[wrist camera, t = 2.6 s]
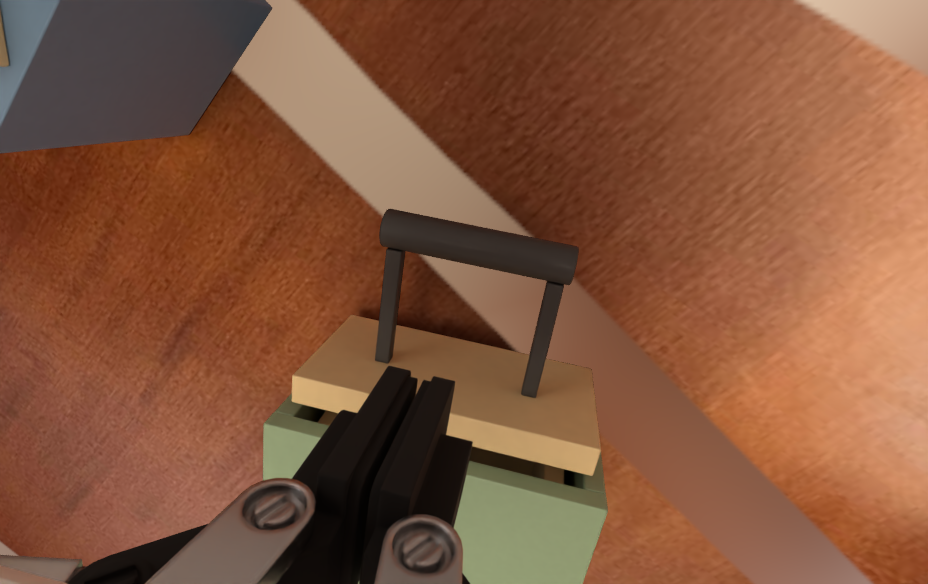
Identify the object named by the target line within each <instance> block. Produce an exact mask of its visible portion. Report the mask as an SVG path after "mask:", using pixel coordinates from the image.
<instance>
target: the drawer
mask: <svg viewBox="0 0 928 584" xmlns="http://www.w3.org/2000/svg"><path fill="white" fill-rule="evenodd" d="M379 236H380V244H381V245H382V246H384V247H389V248H387V250H386V259H385V268H384V278H383V287H382V297H381V306H380V316H379V321H377V320H373V319H368V318H364V317H360V316H355V315H351V316H350V317H349V318H348V319H347V320H346V321H345V322H344V323H343V324H342V325H341V326H340V327H339V328H338V329H337V330H336V331H335V332H334V333H333V334H332V335H331V336H330V337H329V338H328V339H327V340H326V341H325V342H324V343H323V345H322V346H321V347H320V348H319V349H318V350H317V351H316V352H315V353H314V354H313V355H312V356H311V357H310V358H309V359H308V360H307V361H306V362H305V363H304V364H303V365H302V366H301V367H300V368H299V369H298V370H297V371H296V372H295V373H294V375H293V376H292V402H294V403H298V404H302V405H307V406H311V407H315V408H319V409H323V410H326V411H325V413H324V414H323V415H322V417H321V418H320V419H319V421H318V422H317V423H321V424H325V425H329V426H330V424H331V423H332V422H333V420H334V419H335V417H336V416H337V415H338V413H339V412H340V411H341V410H347V411H351V412H355V413H358V411H359V409H360V408H361V406H362V405H363V403H364V402H365V400H366V399H367V397H368V396H369V394H370V393H371V391H372V390H373V388H374V387H375V385H376V383H377V382H378V380H379V379H380V377H381V376H382V374H383V373H384V371H385V370H386V368H387V367H388V366H393V367H397V368H402V369H406V370H410V371H411V377H414V378H417V379H418V382H417V390H416V394H417V392H418V390H419V388H420V386H421V384H422V382H423V380H427V381H431V379H432V378H433V376H436V377H440V378H444V379H449V380H453V381H455V388H454V394H453V399H452V405H451V410H450V416H449V422H448V427H447V433H446V435H449V436H453V437H457V438H461V439H465V440H469V441H473V444H472V449H471V454H470V459H469V461H473V462H477V463H481V464H485V465H489V466H493V467H497V468H501V469H505V470H509V471H513V472H517V473H521V474H525V475H529V476H532V477H536V478H540V479H544V480H548V481H552V482H556V483H560V484H564V469H565V470H569V471H573V472H577V473H581V474H585V475H590V476H593V474H594V471H595V468H596V465H597V462H598V458H599V455H600V452H601V445H600V437H599V428H598V419H597V411H596V402H595V394H594V386H593V377H592V369H590V368H585V367H581V366H577V365H572V364H568V363H564V362H559V361H555V360H550V359H546V356H547V352H548V348H549V344H550V340H551V336H552V332H553V328H554V324H555V320H556V316H557V312H558V308H559V304H560V300H561V296H562V292H563V288H564V284H566V285H570V284H571V282H572V280H573V277H574V273H575V269H576V265H577V260H578V253H579V248H578V247H577V246H573V245H568V244H563V243H558V242H553V241H548V240H543V239H538V238H533V237H528V236H523V235H517V234H513V233H508V232H503V231H498V230H493V229H488V228H483V227H478V226H473V225H468V224H463V223H458V222H453V221H448V220H443V219H438V218H433V217H428V216H423V215H419V214H413V213H408V212H404V211H399V210H394V209H388V210H387V211H386V212H385V214H384V216H383V219H382V222H381V226H380V235H379ZM405 251H408V252H413V253H417V254H422V255H427V256H432V257H436V258H441V259H446V260H451V261H456V262H460V263H465V264H470V265H475V266H479V267H484V268H489V269H494V270H499V271H504V272H508V273H513V274H518V275H522V276H527V277H532V278H537V279H542V280H546V281H547V283H546V288H545V292H544V296H543V300H542V305H541V309H540V313H539V317H538V321H537V326H536V331H535V335H534V338H533V343H532V347H531V351H530V355H528V354H524V353H519V352H515V351H510V350H506V349H501V348H497V347H493V346H488V345H484V344H479V343H475V342H470V341H466V340H462V339H457V338H453V337H448V336H444V335H439V334H435V333H430V332H426V331H422V330H417V329H413V328H408V327H404V326H399V325H397V317H398V308H399V300H400V292H401V283H402V275H403V267H404V259H405Z"/></svg>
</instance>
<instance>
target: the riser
mask: <svg viewBox="0 0 928 584" xmlns="http://www.w3.org/2000/svg"><path fill="white" fill-rule="evenodd" d="M271 10H272V7H271V6H270V5H269V4H268V3H267V2H266V1H265V0H0V11H1V17H2V23H3V29H4V35H5V41H6V47H7V53H8V59H9V66H7V67H0V153H8V152H18V151H29V150H39V149H49V148H59V147H70V146H80V145H90V144H100V143H111V142H121V141H131V140H141V139H151V138H162V137H172V136H182V135H189V134H190V133H191V131H192V129H193V128H194V126H195V125H196V123H197V122H198V120H199V119H200V117H201V116H202V114H203V113H204V111H205V110H206V108H207V107H208V105H209V104H210V102H211V101H212V99H213V98H214V96H215V95H216V93H217V92H218V90H219V89H220V87H221V85H222V84H223V82H224V81H225V79H226V78H227V76H228V75H229V73H230V72H231V70H232V69H233V67H234V66H235V64H236V63H237V61H238V60H239V58H240V57H241V55H242V54H243V52H244V51H245V49H246V47H247V46H248V45H249V43H250V41H251V40H252V38H253V37H254V35H255V34H256V32H257V31H258V29H259V28H260V26H261V25H262V23H263V22H264V20H265V19H266V17H267V16H268V14H269V13H270V11H271Z"/></svg>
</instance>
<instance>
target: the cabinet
mask: <svg viewBox="0 0 928 584" xmlns="http://www.w3.org/2000/svg"><path fill="white" fill-rule="evenodd" d="M325 411H326V410H323V409H319V408H315V407H311V406H307V405H302V404H298V403H294V402H292V393H291V395H290V396H289V397H288V398H287V399H286V400H285V401H284V402H283V403H282V404H281V405H280V407H279V408H278V409H277V410H276V411H275V412H274V413H273V414H272V415H271V416H270V417H269V418H268V419H267V421H266V422H265V423H264V437H263V480H267V479H272V478H290V479H292V477H293V476H294V475H295V473H296V472H297V471H298V469H299V468H300V466H301V465H302V464H303V462H304V461H305V459H306V458H307V457H308V455H309V454H310V452H311V451H312V450H313V448H314V447H315V445H316V444H317V443H318V441H319V440H320V438H321V437H322V436H323V434H324V433H325V431H326V430H327V429H328V427H329V425H325V424H321V423H317V422H318V421H319V419H320V418H321V417H322V415H323V414H324V413H325ZM607 512H608V508H607V499H606V493H605V484H604V475H603V467H602V458H601V452H600V455H599V458H598V462H597V465H596V468H595V471H594V474H593V476H590V475H585V474H581V473H577V472H573V471H569V470H565V469H564V484H560V483H556V482H552V481H548V480H544V479H540V478H536V477H532V476H529V475H525V474H521V473H517V472H513V471H509V470H505V469H501V468H497V467H493V466H489V465H485V464H481V463H477V462H473V461H469V464H468V469H467V474H466V478H465V483H464V487H463V492H462V496H461V500H460V504H459V508H458V512H457V517H456V521H455V525H454V529H455V530H456V531H457V533H458V535H459V537H460V539H461V541H462V547H463V571H462V573H463V574H464V575H465V577H466V578H467V580H468V581H469V582H470V584H583V581H584V578H585V575H586V573H587V570H588V567H589V564H590V561H591V558H592V555H593V552H594V550H595V547H596V544H597V541H598V538H599V535H600V532H601V530H602V527H603V524H604V521H605V518H606V515H607ZM358 584H359V582H358Z"/></svg>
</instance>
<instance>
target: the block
mask: <svg viewBox="0 0 928 584" xmlns="http://www.w3.org/2000/svg"><path fill="white" fill-rule="evenodd" d="M7 66H9V59H8V53H7V47H6V41H5V35H4V29H3V23H2V17H1V11H0V67H7Z"/></svg>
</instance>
